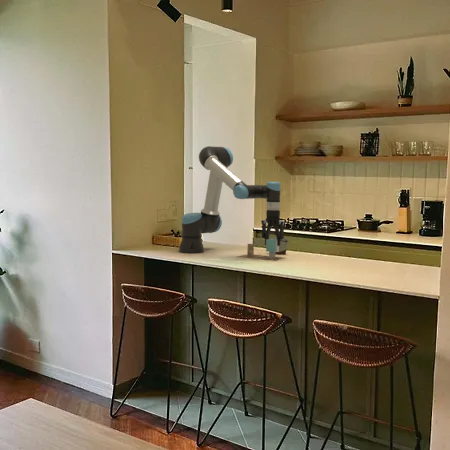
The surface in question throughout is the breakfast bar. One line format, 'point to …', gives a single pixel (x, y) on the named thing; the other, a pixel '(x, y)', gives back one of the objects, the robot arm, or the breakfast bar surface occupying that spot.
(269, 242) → the teal rectangular block
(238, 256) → the board
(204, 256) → the breakfast bar surface
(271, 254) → the post
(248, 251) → the post
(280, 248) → the food container
